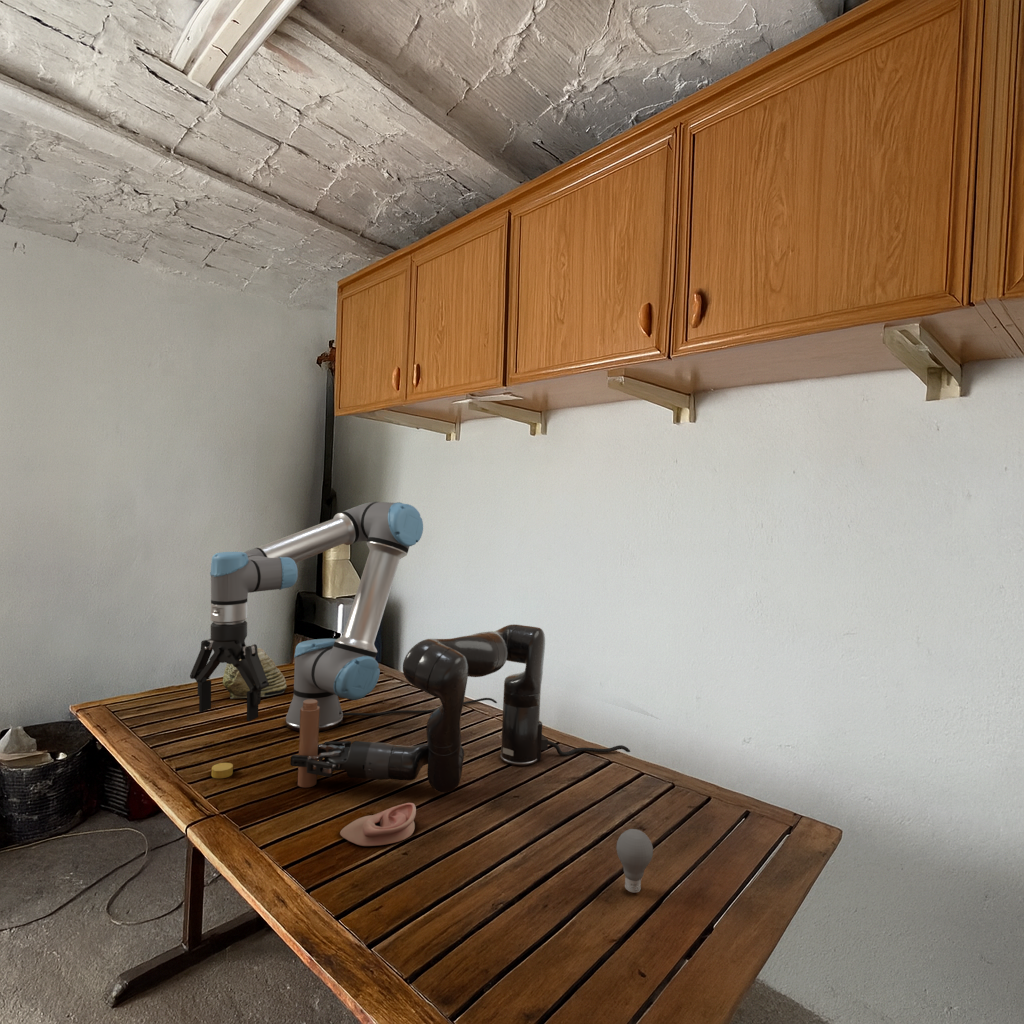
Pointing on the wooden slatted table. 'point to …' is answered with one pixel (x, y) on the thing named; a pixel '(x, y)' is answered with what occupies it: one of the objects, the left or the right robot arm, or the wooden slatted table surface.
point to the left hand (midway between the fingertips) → (228, 714)
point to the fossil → (240, 688)
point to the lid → (222, 770)
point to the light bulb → (634, 857)
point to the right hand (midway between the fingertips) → (296, 755)
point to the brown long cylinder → (308, 739)
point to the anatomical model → (382, 826)
